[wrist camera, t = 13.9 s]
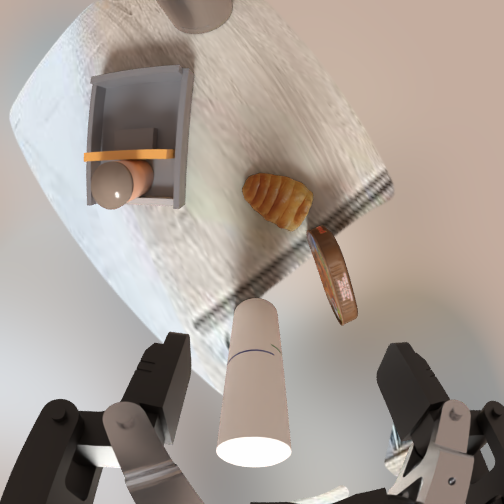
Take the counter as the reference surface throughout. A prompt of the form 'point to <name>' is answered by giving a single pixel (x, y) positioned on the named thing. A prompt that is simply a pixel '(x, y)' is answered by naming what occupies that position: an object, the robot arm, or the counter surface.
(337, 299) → the tin
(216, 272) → the counter surface
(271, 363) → the cylindrical container
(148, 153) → the pusher
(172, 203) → the lane
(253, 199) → the pastry
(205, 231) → the counter surface
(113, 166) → the jar
